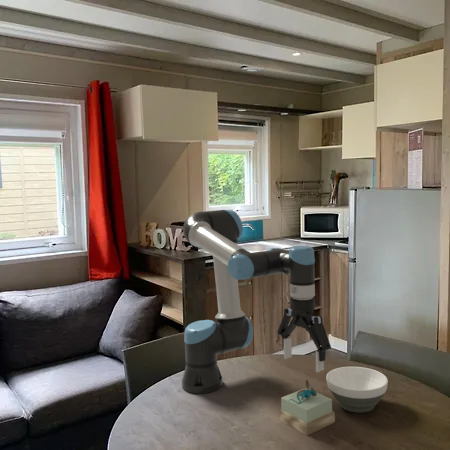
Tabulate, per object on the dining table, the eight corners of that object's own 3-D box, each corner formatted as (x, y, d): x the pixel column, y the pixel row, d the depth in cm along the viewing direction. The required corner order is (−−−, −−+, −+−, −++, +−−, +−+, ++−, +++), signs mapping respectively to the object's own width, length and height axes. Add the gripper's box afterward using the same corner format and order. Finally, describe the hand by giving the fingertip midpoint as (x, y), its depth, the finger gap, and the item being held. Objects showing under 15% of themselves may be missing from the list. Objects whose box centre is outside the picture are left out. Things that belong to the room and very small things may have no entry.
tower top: (281, 410, 151) (281, 397, 151) (306, 399, 158) (305, 387, 158) (307, 423, 143) (306, 410, 142) (332, 411, 149) (331, 399, 149)
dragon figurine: (314, 404, 143) (320, 385, 149) (291, 393, 145) (298, 374, 151) (308, 417, 147) (314, 397, 153) (285, 406, 149) (293, 387, 155)
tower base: (279, 422, 152) (279, 409, 152) (306, 410, 159) (306, 398, 159) (307, 437, 142) (307, 424, 142) (334, 424, 149) (334, 411, 149)
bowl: (391, 397, 164) (391, 370, 163) (384, 424, 146) (383, 394, 146) (333, 389, 172) (333, 363, 172) (320, 414, 155) (319, 385, 154)
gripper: (265, 291, 155) (267, 355, 157) (325, 307, 135) (326, 380, 137) (282, 287, 159) (283, 350, 162) (342, 302, 140) (343, 373, 142)
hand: (303, 364), depth 149 cm, fingers open, 13 cm apart
